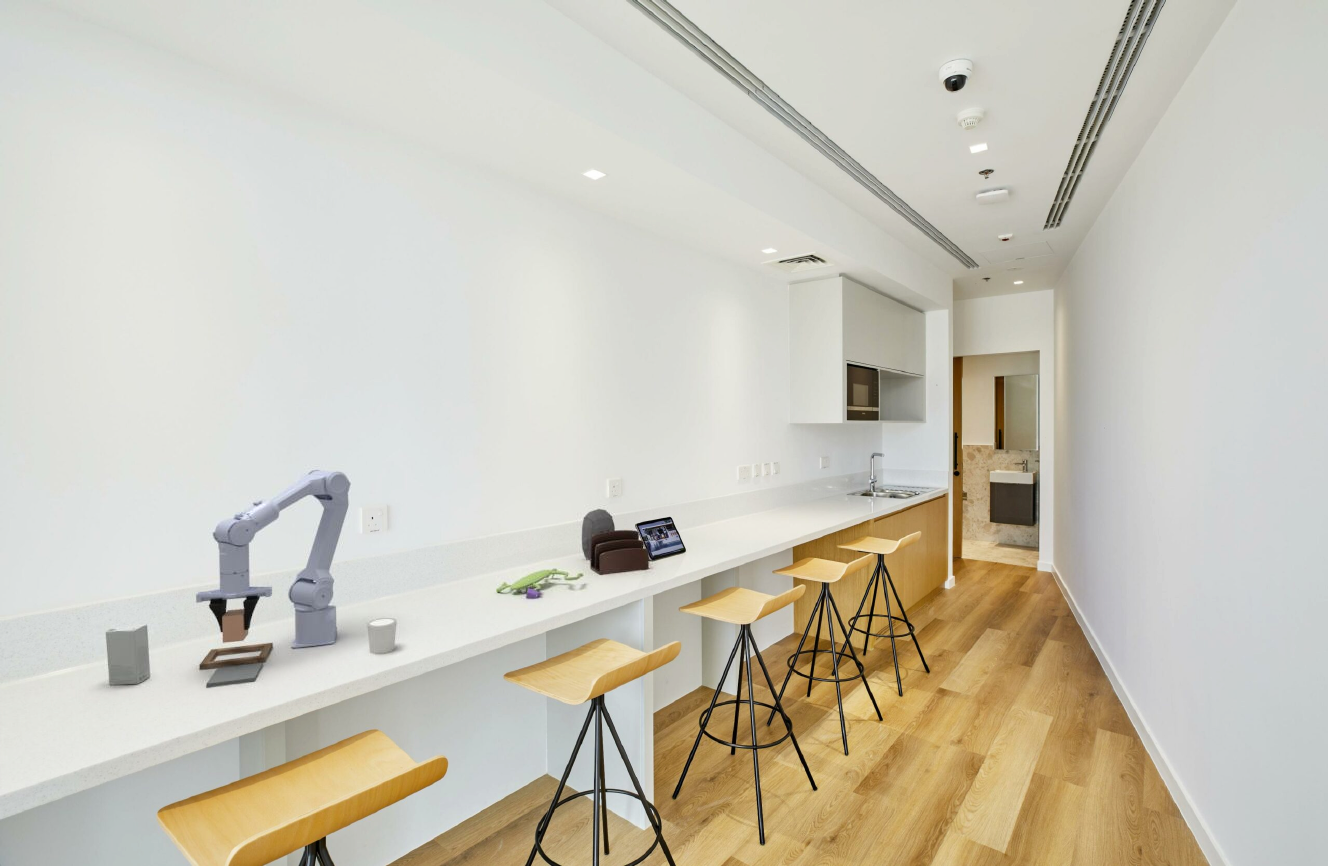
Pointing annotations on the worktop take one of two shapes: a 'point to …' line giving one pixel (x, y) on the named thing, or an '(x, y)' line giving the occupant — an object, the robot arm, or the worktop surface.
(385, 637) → the light grey cup
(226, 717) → the worktop surface
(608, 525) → the small grey backpack
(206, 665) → the walnut frame
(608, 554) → the letter holder
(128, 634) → the skincare box
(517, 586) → the figurine
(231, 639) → the terracotta block
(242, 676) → the slate mat
